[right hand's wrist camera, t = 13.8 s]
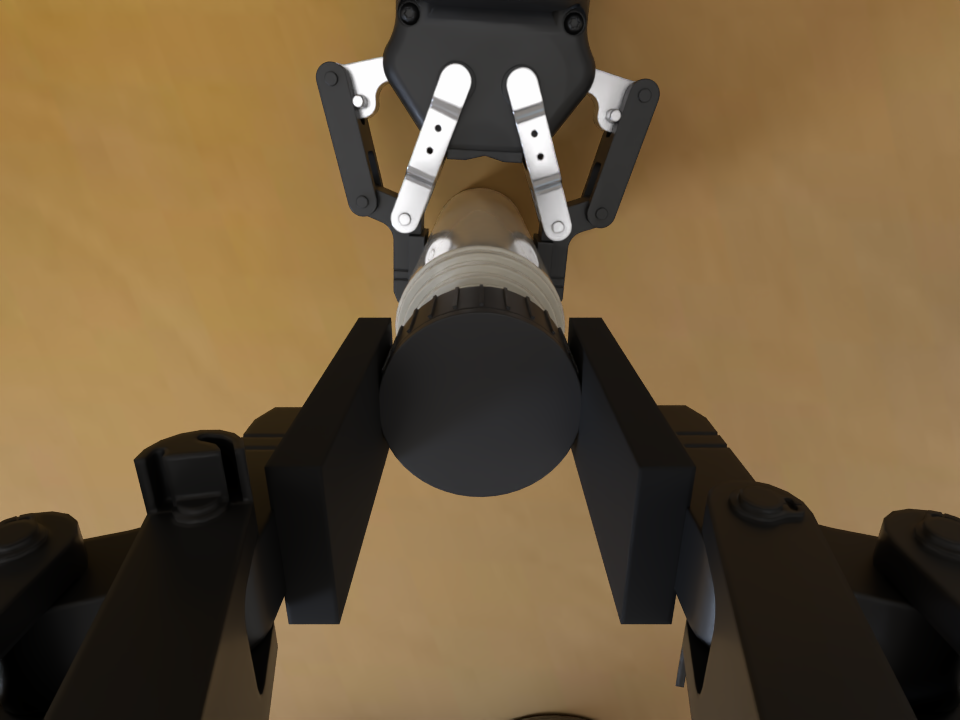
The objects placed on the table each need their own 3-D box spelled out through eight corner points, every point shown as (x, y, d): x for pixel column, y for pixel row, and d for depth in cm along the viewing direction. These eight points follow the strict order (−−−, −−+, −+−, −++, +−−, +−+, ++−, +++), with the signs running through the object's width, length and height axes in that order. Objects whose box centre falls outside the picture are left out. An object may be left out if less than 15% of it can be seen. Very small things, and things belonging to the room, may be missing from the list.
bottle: (473, 294, 34) (464, 535, 14) (417, 226, 32) (316, 386, 12) (542, 240, 33) (640, 418, 13) (486, 168, 31) (499, 239, 11)
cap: (467, 481, 15) (465, 532, 13) (350, 359, 14) (330, 396, 12) (606, 385, 14) (627, 425, 12) (494, 243, 13) (496, 264, 11)
